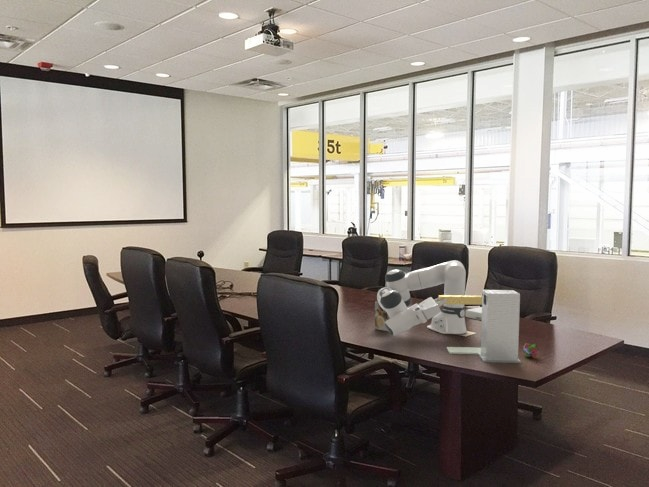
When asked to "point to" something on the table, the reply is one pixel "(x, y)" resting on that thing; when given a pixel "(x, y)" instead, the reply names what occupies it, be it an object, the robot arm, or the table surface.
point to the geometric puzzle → (530, 350)
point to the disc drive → (474, 313)
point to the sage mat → (463, 350)
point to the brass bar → (461, 299)
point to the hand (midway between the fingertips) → (445, 298)
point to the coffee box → (380, 317)
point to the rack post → (500, 326)
